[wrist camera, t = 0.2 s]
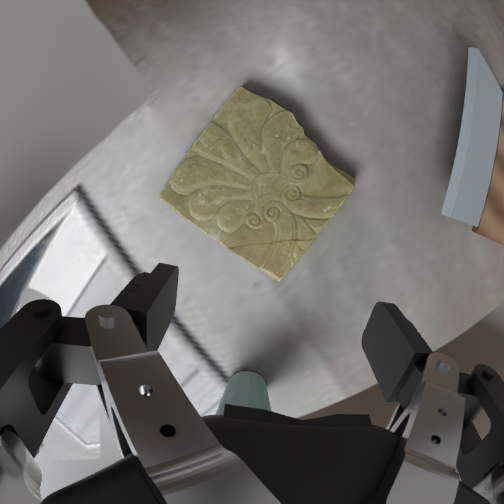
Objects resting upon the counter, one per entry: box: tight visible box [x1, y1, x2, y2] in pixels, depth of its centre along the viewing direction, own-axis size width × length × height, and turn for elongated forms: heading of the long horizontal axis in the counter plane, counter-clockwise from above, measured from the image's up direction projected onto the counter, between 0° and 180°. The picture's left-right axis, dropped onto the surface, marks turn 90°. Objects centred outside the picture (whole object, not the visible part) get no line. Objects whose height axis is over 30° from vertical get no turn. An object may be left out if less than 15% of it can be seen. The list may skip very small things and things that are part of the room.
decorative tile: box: [159, 86, 355, 281], centre depth 37 cm, size 19×20×4 cm
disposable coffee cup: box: [216, 371, 271, 415], centre depth 43 cm, size 11×11×15 cm
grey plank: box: [441, 47, 503, 227], centre depth 30 cm, size 24×14×2 cm, turn 168°
